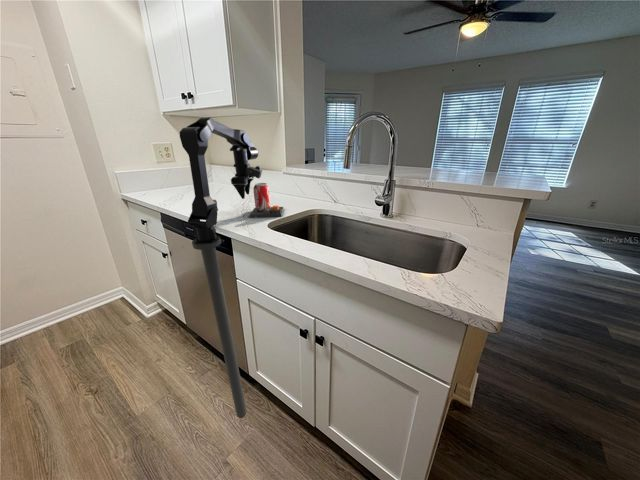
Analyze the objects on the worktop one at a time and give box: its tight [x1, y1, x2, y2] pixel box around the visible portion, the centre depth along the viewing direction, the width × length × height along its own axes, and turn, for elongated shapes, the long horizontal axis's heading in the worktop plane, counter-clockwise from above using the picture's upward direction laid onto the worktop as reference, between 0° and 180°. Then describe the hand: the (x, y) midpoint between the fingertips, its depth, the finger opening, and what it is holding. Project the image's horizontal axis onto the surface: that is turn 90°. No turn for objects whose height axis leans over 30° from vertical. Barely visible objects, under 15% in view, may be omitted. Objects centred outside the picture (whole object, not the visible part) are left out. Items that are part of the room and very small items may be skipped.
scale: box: [249, 206, 285, 219], centre depth 121 cm, size 14×12×3 cm
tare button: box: [272, 205, 280, 210], centre depth 117 cm, size 3×3×2 cm
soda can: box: [253, 182, 271, 211], centre depth 120 cm, size 7×7×12 cm
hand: (245, 196), depth 120 cm, fingers open, 9 cm apart
